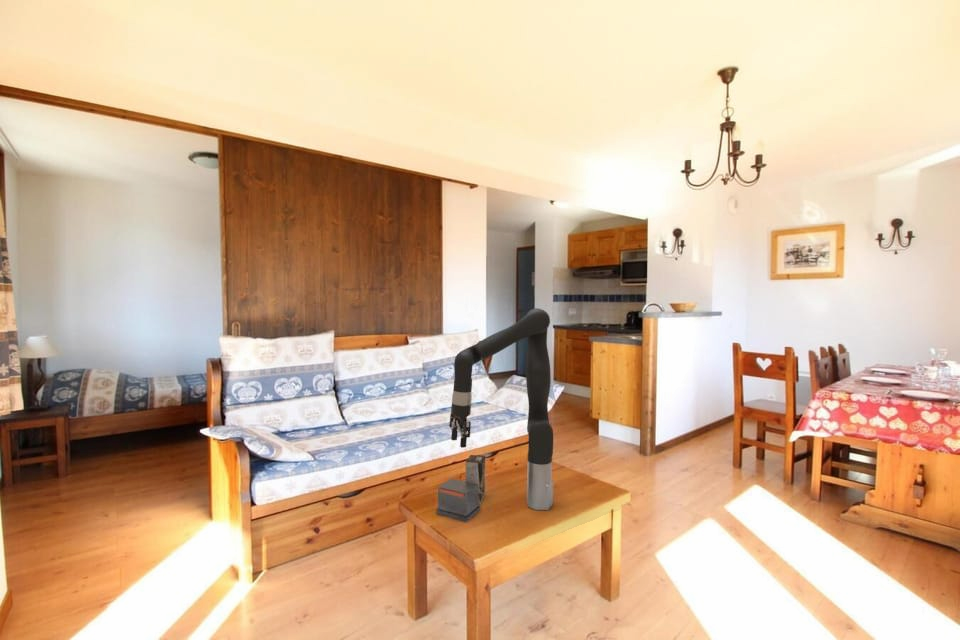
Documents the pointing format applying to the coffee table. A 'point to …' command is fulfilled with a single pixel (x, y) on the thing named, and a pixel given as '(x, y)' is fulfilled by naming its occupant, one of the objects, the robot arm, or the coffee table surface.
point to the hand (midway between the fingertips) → (458, 443)
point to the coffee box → (476, 473)
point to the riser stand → (458, 499)
